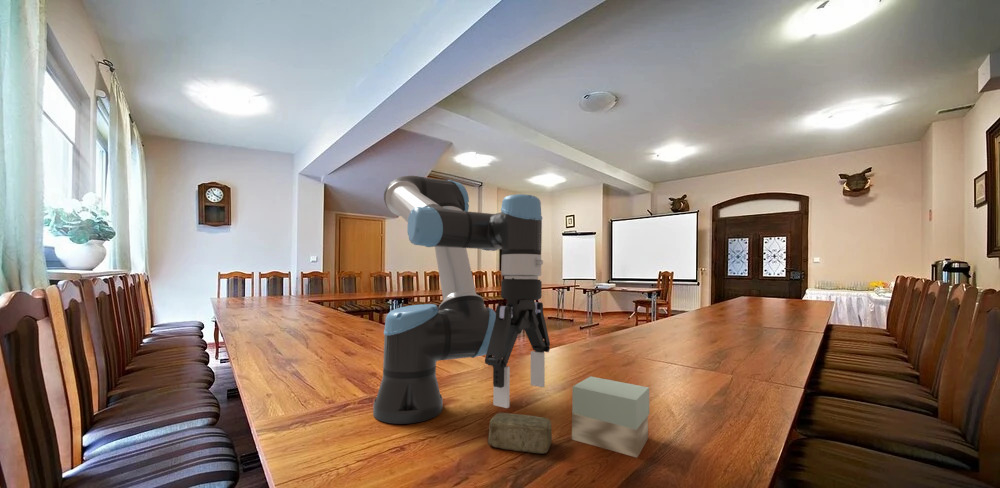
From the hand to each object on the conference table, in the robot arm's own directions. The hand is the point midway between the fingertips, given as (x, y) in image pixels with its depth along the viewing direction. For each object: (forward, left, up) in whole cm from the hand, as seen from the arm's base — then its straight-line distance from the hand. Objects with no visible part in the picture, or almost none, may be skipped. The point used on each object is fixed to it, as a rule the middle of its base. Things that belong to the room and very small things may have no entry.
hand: (520, 395), depth 67 cm
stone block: (-1, +1, -10) cm, 10 cm away
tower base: (+13, +13, -10) cm, 21 cm away
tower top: (+13, +13, -5) cm, 19 cm away
